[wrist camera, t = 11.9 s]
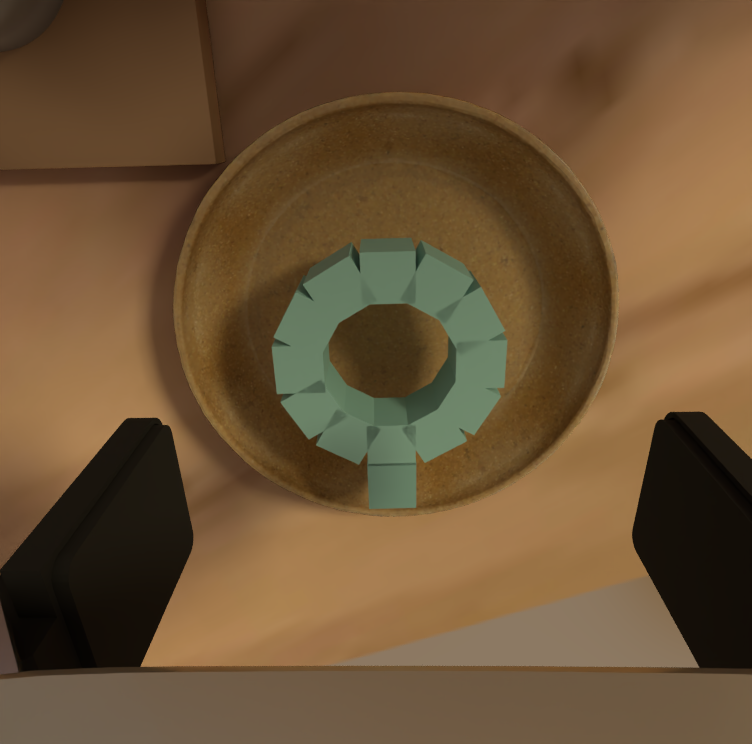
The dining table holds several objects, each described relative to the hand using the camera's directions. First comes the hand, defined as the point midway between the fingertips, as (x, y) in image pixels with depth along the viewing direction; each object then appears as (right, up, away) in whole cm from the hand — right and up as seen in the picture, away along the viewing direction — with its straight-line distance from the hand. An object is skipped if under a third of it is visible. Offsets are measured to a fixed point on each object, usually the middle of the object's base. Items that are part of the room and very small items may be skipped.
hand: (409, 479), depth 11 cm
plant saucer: (0, +4, +10) cm, 11 cm away
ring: (0, +3, +8) cm, 8 cm away
